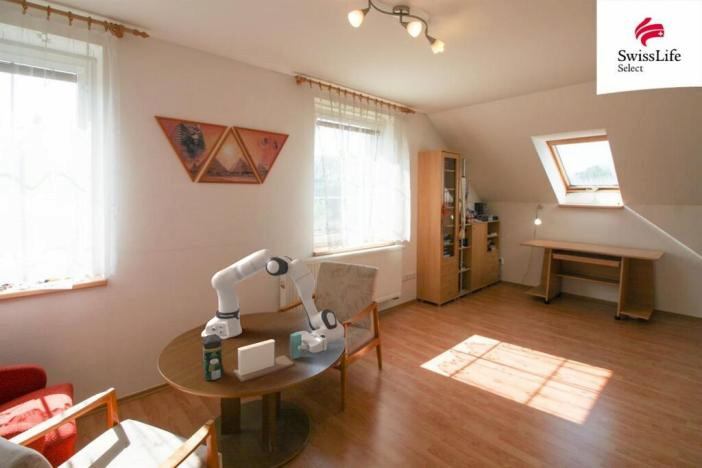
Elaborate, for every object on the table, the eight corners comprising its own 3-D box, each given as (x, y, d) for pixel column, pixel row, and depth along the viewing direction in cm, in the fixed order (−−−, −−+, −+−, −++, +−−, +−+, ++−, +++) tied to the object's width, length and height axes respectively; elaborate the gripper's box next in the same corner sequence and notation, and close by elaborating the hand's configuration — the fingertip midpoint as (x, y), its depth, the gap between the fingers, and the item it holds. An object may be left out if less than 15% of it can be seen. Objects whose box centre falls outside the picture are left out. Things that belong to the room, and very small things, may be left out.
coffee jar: (203, 372, 160) (201, 334, 158) (221, 368, 164) (220, 331, 161) (204, 382, 152) (203, 342, 149) (223, 378, 155) (222, 339, 153)
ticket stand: (241, 382, 153) (240, 354, 151) (233, 372, 161) (233, 345, 159) (293, 365, 169) (293, 339, 167) (284, 357, 176) (284, 332, 175)
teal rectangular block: (292, 358, 172) (292, 336, 170) (289, 356, 174) (289, 334, 173) (301, 356, 175) (301, 334, 174) (298, 353, 177) (298, 332, 176)
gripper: (307, 326, 190) (284, 332, 181) (328, 339, 174) (304, 346, 165) (307, 337, 190) (284, 343, 182) (328, 351, 174) (304, 358, 166)
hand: (294, 345), depth 173 cm, fingers open, 6 cm apart
